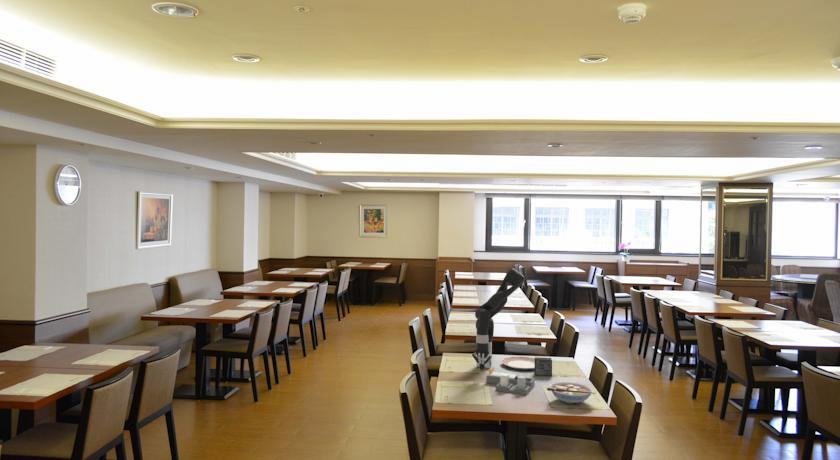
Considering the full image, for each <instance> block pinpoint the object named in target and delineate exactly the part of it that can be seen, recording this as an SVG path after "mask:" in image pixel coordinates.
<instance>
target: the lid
mask: <svg viewBox="0 0 840 460" xmlns="http://www.w3.org/2000/svg"><path fill="white" fill-rule="evenodd" d="M502 373H503V374H509V379H515V378H516V377H517V376H518V374H517V373H509V372H501V371H495V368H494V366H491V368H488V373H487V374H486V376H493V377H500V375H501V374H502Z"/></svg>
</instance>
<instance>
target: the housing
mask: <svg viewBox="0 0 840 460" xmlns="http://www.w3.org/2000/svg"><path fill="white" fill-rule="evenodd" d="M485 378H486V382H485V383H486V384H492V385H496V386H495V391H496V392H497V391H498V392H505V393H511V394H518V395H524V396H527V395H528V394H529V393H530V392H531V391H532V389H533V388H534V386H535V378H531V377H527V376H525V375H524V376H522V375H519V376H518V375H517V377H516V378H515V379H509V387H505V386H500V377H493V376H487V375H486V377H485Z"/></svg>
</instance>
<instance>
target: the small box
mask: <svg viewBox="0 0 840 460" xmlns="http://www.w3.org/2000/svg"><path fill="white" fill-rule="evenodd" d="M534 358H535V368H534V369H533V370H534V371H533V373H534V376H535V377H536V376H538V377H552V376H553V359H552V358H551V357H538V356H535V357H534Z"/></svg>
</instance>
